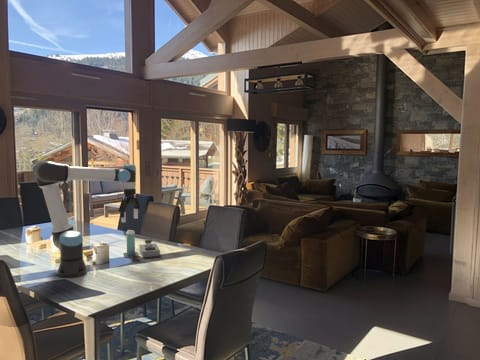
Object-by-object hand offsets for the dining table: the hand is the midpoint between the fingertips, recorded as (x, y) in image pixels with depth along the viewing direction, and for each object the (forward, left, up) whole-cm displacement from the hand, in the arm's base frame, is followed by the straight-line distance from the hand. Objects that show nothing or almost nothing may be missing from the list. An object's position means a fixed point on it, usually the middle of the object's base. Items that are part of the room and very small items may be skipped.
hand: (129, 220), depth 246 cm
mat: (0, 0, -23) cm, 23 cm away
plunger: (+12, +5, -23) cm, 26 cm away
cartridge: (0, 0, -23) cm, 23 cm away
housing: (+12, 0, -23) cm, 26 cm away
